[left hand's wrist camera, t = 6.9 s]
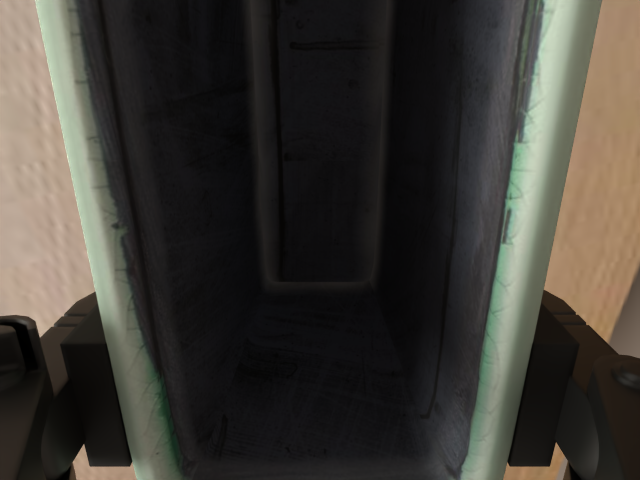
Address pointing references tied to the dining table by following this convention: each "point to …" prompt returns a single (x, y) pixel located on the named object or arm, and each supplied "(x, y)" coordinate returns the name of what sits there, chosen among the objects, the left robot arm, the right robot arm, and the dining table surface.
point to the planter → (319, 223)
